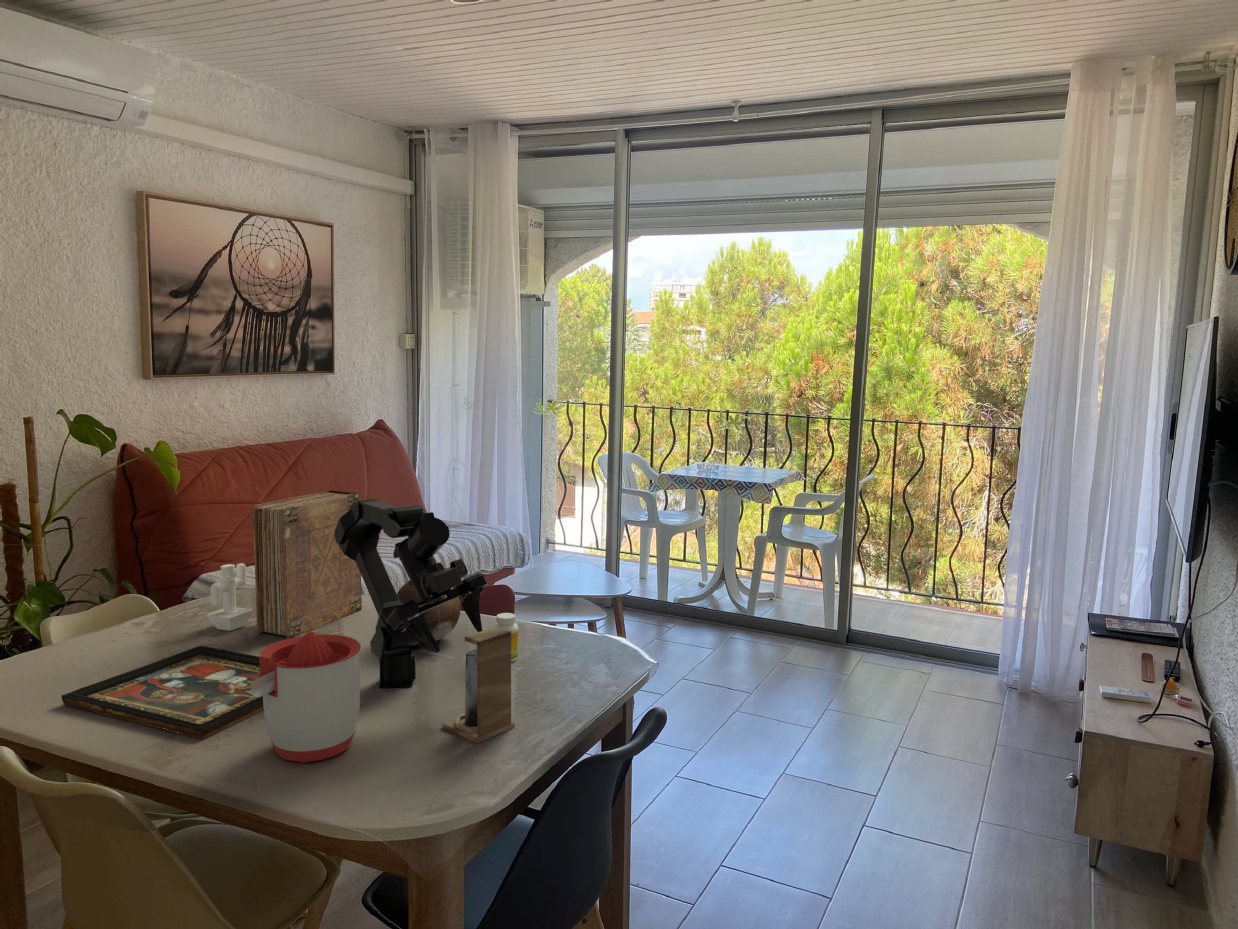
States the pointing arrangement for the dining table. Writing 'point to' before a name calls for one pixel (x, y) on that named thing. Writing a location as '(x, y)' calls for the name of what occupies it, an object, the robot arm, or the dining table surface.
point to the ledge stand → (489, 687)
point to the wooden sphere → (434, 612)
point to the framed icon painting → (180, 692)
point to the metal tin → (471, 689)
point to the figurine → (229, 599)
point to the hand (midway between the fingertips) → (459, 642)
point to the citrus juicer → (310, 695)
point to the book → (303, 564)
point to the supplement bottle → (508, 623)
